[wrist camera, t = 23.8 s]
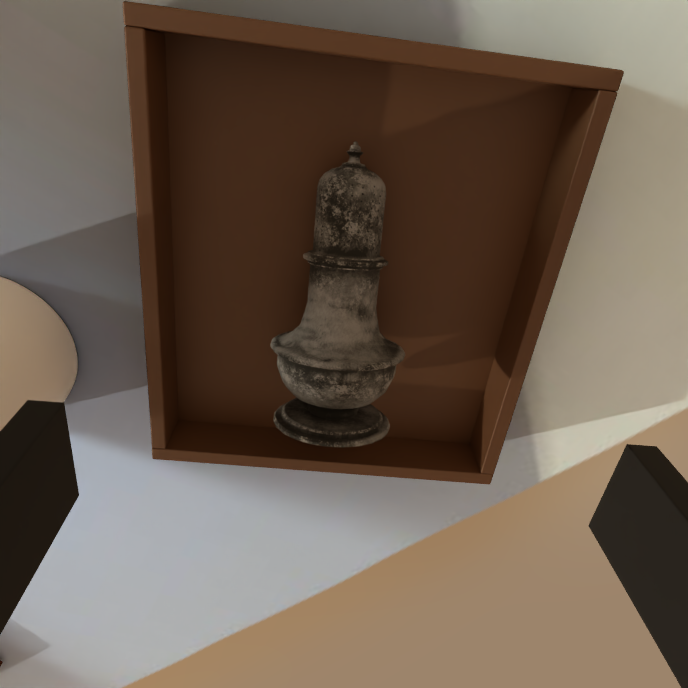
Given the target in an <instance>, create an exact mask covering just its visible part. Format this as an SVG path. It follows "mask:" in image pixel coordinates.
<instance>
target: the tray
mask: <svg viewBox="0 0 688 688" xmlns="http://www.w3.org/2000/svg"><path fill="white" fill-rule="evenodd" d="M123 16H124V24H125V25H126V26H125V28H124V32H125V47H126V62H127V77H128V92H129V107H130V122H131V137H132V152H133V167H134V183H135V198H136V213H137V228H138V243H139V258H140V273H141V288H142V303H143V318H144V333H145V349H146V364H147V379H148V394H149V409H150V424H151V439H152V457H153V459H161V460H174V461H187V462H200V463H214V464H227V465H240V466H253V467H267V468H280V469H293V470H306V471H320V472H333V473H346V474H359V475H373V476H386V477H399V478H412V479H426V480H439V481H452V482H465V483H479V484H490V483H491V480H492V477H493V474H494V471H495V468H496V465H497V462H498V458H499V455H500V452H501V449H502V446H503V443H504V440H505V437H506V434H507V431H508V428H509V425H510V422H511V419H512V415H513V412H514V409H515V406H516V403H517V400H518V397H519V394H520V391H521V388H522V385H523V382H524V379H525V376H526V372H527V369H528V366H529V363H530V360H531V357H532V354H533V351H534V348H535V345H536V342H537V339H538V336H539V333H540V329H541V326H542V323H543V320H544V317H545V314H546V311H547V308H548V305H549V302H550V299H551V296H552V293H553V289H554V286H555V283H556V280H557V277H558V274H559V271H560V268H561V265H562V262H563V259H564V256H565V253H566V250H567V246H568V243H569V240H570V237H571V234H572V231H573V228H574V225H575V222H576V219H577V216H578V213H579V210H580V207H581V203H582V200H583V197H584V194H585V191H586V188H587V185H588V182H589V179H590V176H591V173H592V170H593V167H594V164H595V160H596V157H597V154H598V151H599V148H600V145H601V142H602V139H603V136H604V133H605V130H606V127H607V124H608V120H609V117H610V114H611V111H612V108H613V105H614V102H615V99H616V96H617V92H616V91H618V89H619V86H620V83H621V80H622V77H623V74H624V71H623V70H618V69H611V68H603V67H596V66H589V65H582V64H575V63H567V62H560V61H553V60H546V59H539V58H531V57H524V56H517V55H510V54H502V53H495V52H488V51H481V50H474V49H466V48H459V47H452V46H445V45H438V44H430V43H423V42H416V41H409V40H402V39H394V38H387V37H380V36H373V35H366V34H358V33H351V32H344V31H337V30H329V29H322V28H315V27H308V26H301V25H293V24H286V23H279V22H272V21H265V20H257V19H250V18H243V17H236V16H229V15H221V14H214V13H207V12H200V11H193V10H185V9H178V8H171V7H164V6H157V5H149V4H142V3H135V2H128V1H124V2H123ZM355 141H356V142H358V145H359V146H360V147H361V152H363V154H362V155H361V156H360V163H361V164H364V165H365V167H367V169H368V170H370V171H372V172H374V173H376V174H377V175H378V176H379V177H380V178H381V179H382V181H383V182H384V184H385V187H386V200H385V210H384V219H383V229H382V239H381V249H380V256H382V257H383V258H384V259H385V260H387V261H388V265H387V266H383V268H382V269H381V270H380V276H379V286H378V295H377V305H376V310H377V319H378V325H379V331H380V333H381V334H382V335H383V336H384V337H385V338H386V339H388V340H390V341H393V342H395V343H396V344H398V345H399V346H401V347H402V349H403V350H404V352H405V357H404V359H403V361H402V362H400V363H399V364H397V365H396V373H395V376H394V378H393V380H392V382H391V383H390V385H389V387H388V389H387V391H386V392H385V393H384V394H383V395H381V396H380V397H379V398H378V399H376V400H375V401H374V402H372V403H371V405H373V406H374V407H375V408H376V409H378V410H379V411H381V412H382V413H383V414H384V415H385V416H386V417H387V418H388V421H389V424H390V428H389V431H388V434H387V435H386V436H384V437H383V438H382V439H381V440H378V441H376V442H374V443H372V444H367V445H362V446H357V447H343V448H341V447H325V446H319V445H313V444H308V443H305V442H302V441H299V440H295V439H293V438H291V437H289V436H287V435H285V434H283V433H282V432H281V431H280V430H279V429H278V428H277V427H276V425H275V423H274V421H273V418H274V413H275V411H276V410H277V409H278V408H279V407H280V406H281V405H283V404H285V403H287V402H289V401H291V400H293V399H294V398H297V397H295V396H294V395H293V394H292V393H291V392H290V390H289V389H288V388H287V387H286V386H285V384H284V383H283V381H282V378H281V375H280V373H279V370H278V367H277V356H278V355H277V354H276V353H275V352H274V351H273V349H272V348H271V341H272V339H273V338H274V337H276V336H277V335H279V334H281V333H285V332H288V331H293V330H294V329H295V328H297V327H298V326H299V325H300V323H301V320H302V317H303V314H304V312H305V308H306V305H307V300H308V286H309V271H310V264H309V263H308V260H306V259H304V258H303V254H304V253H307V252H308V251H310V250H313V240H314V226H315V212H316V197H317V186H318V183H319V179H320V178H321V177H322V176H323V174H324V173H326V172H327V171H329V170H330V169H332V168H336V167H340V166H341V165H342V163H345V162H348V160H349V154H348V153H347V151H348V150H350V146H351V145H353V143H354V142H355Z"/></svg>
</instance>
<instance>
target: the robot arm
mask: <svg viewBox="0 0 688 688" xmlns="http://www.w3.org/2000/svg"><path fill="white" fill-rule="evenodd" d="M78 496H79V492H78V486H77V480H76V474H75V468H74V461H73V455H72V449H71V443H70V437H69V431H68V424H67V418H66V412H65V406H64V403H63V402H49V401H36V400H27V401H26V402H25V404H24V405H23V406H22V407H21V408H20V409H19V410H18V411H17V413H16V414H15V415H14V416H13V417H12V418H11V419H10V421H9V422H8V423H7V424H6V425H5V426H4V427H3V429H2V430H1V431H0V634H1V633H2V631H3V629H4V627H5V625H6V624H7V622H8V620H9V618H10V617H11V615H12V613H13V611H14V609H15V608H16V606H17V604H18V602H19V601H20V599H21V597H22V595H23V594H24V592H25V590H26V588H27V586H28V585H29V583H30V581H31V579H32V578H33V576H34V574H35V572H36V570H37V569H38V567H39V565H40V563H41V562H42V560H43V558H44V556H45V555H46V553H47V551H48V549H49V547H50V546H51V544H52V542H53V540H54V539H55V537H56V535H57V533H58V531H59V530H60V528H61V526H62V524H63V523H64V521H65V519H66V517H67V516H68V514H69V512H70V510H71V508H72V507H73V505H74V503H75V501H76V500H77V498H78ZM589 527H590V529H591V531H592V532H593V534H594V536H595V538H596V539H597V541H598V543H599V545H600V546H601V548H602V550H603V551H604V553H605V555H606V557H607V559H608V560H609V562H610V564H611V566H612V567H613V569H614V571H615V572H616V574H617V576H618V578H619V579H620V581H621V583H622V584H623V586H624V588H625V590H626V592H627V593H628V595H629V597H630V599H631V600H632V602H633V604H634V606H635V607H636V609H637V611H638V613H639V614H640V616H641V618H642V620H643V621H644V623H645V625H646V627H647V628H648V630H649V632H650V634H651V635H652V637H653V639H654V640H655V642H656V644H657V646H658V648H659V649H660V651H661V653H662V655H663V656H664V658H665V660H666V661H667V663H668V665H669V667H670V668H671V670H672V672H673V674H674V675H675V677H676V678H677V681H678V682H679V684H680V686H681V688H688V482H687V481H686V480H685V479H684V478H683V476H682V475H681V474H680V473H679V472H678V471H677V470H676V468H675V467H674V466H673V465H672V464H671V463H670V461H669V460H668V459H667V458H666V457H665V456H664V454H662V452H661V451H660V450H659V449H658V448H657V447H655V446H642V445H628V444H627V445H626V448H625V449H624V452H623V454H622V456H621V458H620V460H619V462H618V464H617V466H616V468H615V471H614V473H613V475H612V477H611V479H610V481H609V483H608V485H607V488H606V490H605V492H604V494H603V496H602V498H601V500H600V503H599V505H598V507H597V509H596V511H595V513H594V515H593V517H592V519H591V522H590V524H589Z"/></svg>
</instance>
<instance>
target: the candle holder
mask: <svg viewBox="0 0 688 688" xmlns="http://www.w3.org/2000/svg"><path fill="white" fill-rule="evenodd" d="M77 370H78V358H77V351H76V347H75V344H74V341H73V338H72V336H71V334H70V332H69V330H68V328H67V327H66V325H65V324H64V322H63V321H62V319H61V318H60V317H59V315H58V314H57V313H56V312H55V311H54V310H53V309H52V308H51V307H50V306H49V305H48V304H47V303H46V302H45V301H44V300H43V299H41V298H40V297H39V296H37V295H36V294H35V293H33V292H32V291H30V290H28V289H27V288H25V287H23V286H21V285H20V284H18V283H15V282H13V281H11V280H9V279H6V278H3V277H0V431H1V430H2V429H3V427H4V426H5V425H6V424H7V423H8V422H9V421H10V419H11V418H12V417H13V416H14V415H15V414H16V413H17V411H18V410H19V409H20V408H21V407H22V406H23V405H24V404H25V402H26V401H27V400H36V401H49V402H63V403H64V402H65V400H66V398H67V397H68V395H69V393H70V391H71V389H72V387H73V385H74V383H75V379H76V376H77Z"/></svg>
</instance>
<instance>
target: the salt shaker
mask: <svg viewBox="0 0 688 688" xmlns="http://www.w3.org/2000/svg"><path fill="white" fill-rule="evenodd" d="M347 153H348V154H349V160H348V162H345V163H342V165H341V166H340V167H336V168H332V169H330V170H329V171H327V172H326V173H324V174H323V176H322V177H321V178H320V179H319V183H318V186H317V197H316V212H315V226H314V240H313V250H310V251H308V252H307V253H304V254H303V258H304V259H306V260H308V263H309V264H310V271H309V286H308V300H307V305H306V308H305V312H304V314H303V317H302V320H301V323H300V325H299V326H298V327H297V328H295V329H294V330H293V331H288V332H285V333H281V334H279V335H277V336H276V337H274V338H273V339H272V341H271V348H272V349H273V351H274V352H275V353H276V354H277V355H278V356H277V367H278V370H279V373H280V375H281V378H282V381H283V383H284V384H285V386H286V387H287V388H288V389H289V390H290V392H291V393H292V394H293V395H294V396H295V397H297V398H294V399H293V400H291V401H289V402H287V403H285V404H283V405H281V406H280V407H279V408H278V409H277V410H276V411H275V413H274V418H273V421H274V423H275V425H276V427H277V428H278V429H279V430H280V431H281V432H282V433H283V434H285V435H287V436H289V437H291V438H293V439H295V440H299V441H302V442H305V443H308V444H313V445H319V446H325V447H341V448H343V447H357V446H362V445H367V444H372V443H374V442H376V441H378V440H381V439H382V438H383V437H384V436H386V435H387V434H388V431H389V428H390V424H389V421H388V418H387V417H386V416H385V415H384V414H383V413H382V412H381V411H379V410H378V409H376V408H375V407H374V406H373V405H371V403H372V402H374V401H375V400H376V399H378V398H379V397H380V396H381V395H383V394H384V393H385V392H386V391H387V389H388V387H389V385H390V383H391V382H392V380H393V378H394V376H395V373H396V365H397V364H399V363H400V362H402V361H403V359H404V357H405V352H404V350H403V349H402V347H401V346H399V345H398V344H396V343H395V342H393V341H390V340H388V339H386V338H385V337H384V336H383V335H382V334H381V333H380V331H379V325H378V319H377V310H376V305H377V295H378V286H379V276H380V270H381V269H382V268H383V266H387V265H388V261H387V260H385V259H384V258H383V257H382V256H380V249H381V239H382V229H383V219H384V210H385V200H386V187H385V184H384V182H383V181H382V179H381V178H380V177H379V176H378V175H377V174H376V173H374V172H372V171H370V170H368V169H367V167H365V165H364V164H361V163H360V156H361V155H362V154H363V152H361V147H360V146H359V145H358V142H356V141H355V142H354V143H353V145H351V146H350V150H348V151H347Z"/></svg>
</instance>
